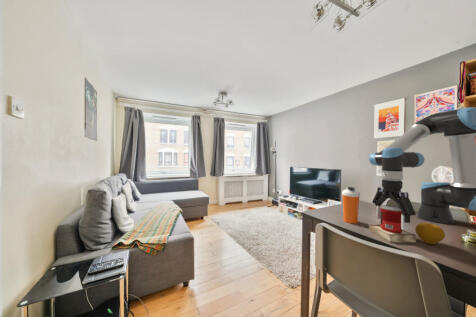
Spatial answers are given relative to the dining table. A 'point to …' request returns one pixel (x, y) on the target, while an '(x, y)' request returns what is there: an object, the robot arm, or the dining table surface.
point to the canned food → (391, 219)
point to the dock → (392, 234)
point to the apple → (430, 233)
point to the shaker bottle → (350, 205)
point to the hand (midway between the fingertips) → (391, 223)
